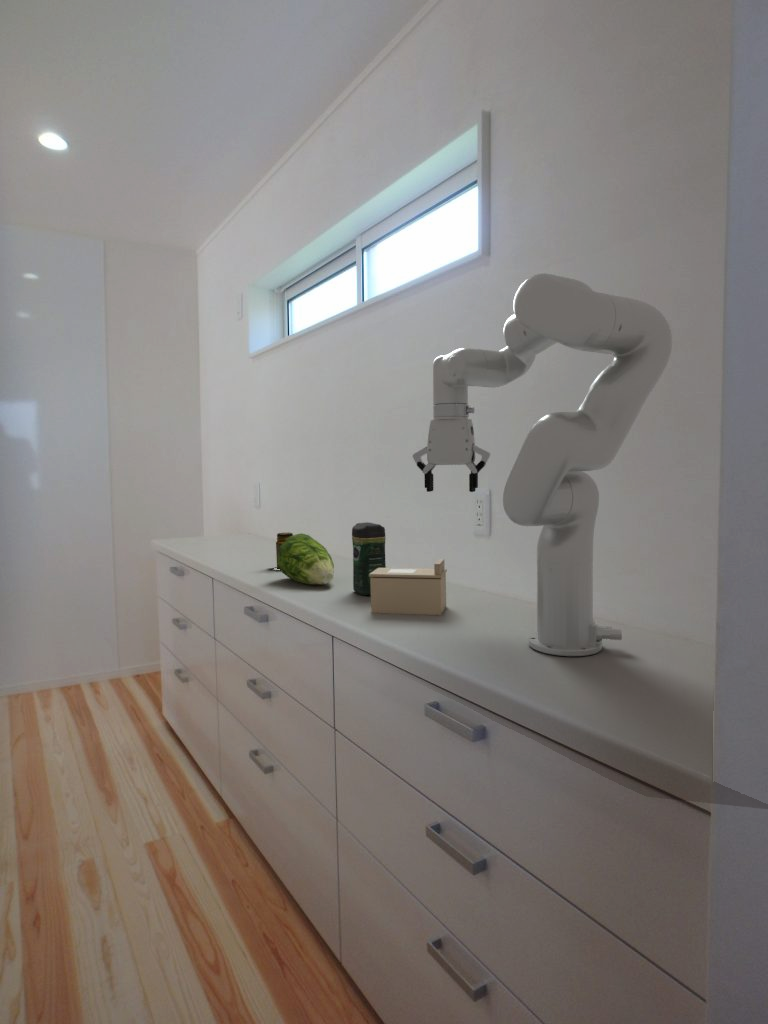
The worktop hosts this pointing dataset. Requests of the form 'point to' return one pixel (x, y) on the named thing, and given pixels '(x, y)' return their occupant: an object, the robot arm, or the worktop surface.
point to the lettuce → (305, 560)
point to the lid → (412, 571)
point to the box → (408, 595)
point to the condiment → (280, 540)
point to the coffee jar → (367, 554)
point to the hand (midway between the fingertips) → (450, 491)
